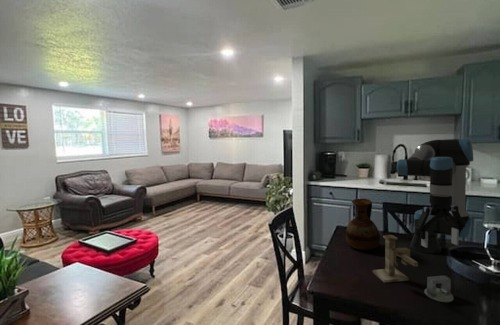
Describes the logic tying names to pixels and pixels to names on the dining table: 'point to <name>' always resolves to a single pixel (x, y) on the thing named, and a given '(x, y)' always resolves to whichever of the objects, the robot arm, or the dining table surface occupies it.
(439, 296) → the felt pad
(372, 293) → the dining table surface
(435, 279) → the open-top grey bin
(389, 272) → the peg stand
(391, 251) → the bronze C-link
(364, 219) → the ceramic pitcher
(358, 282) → the dining table surface
